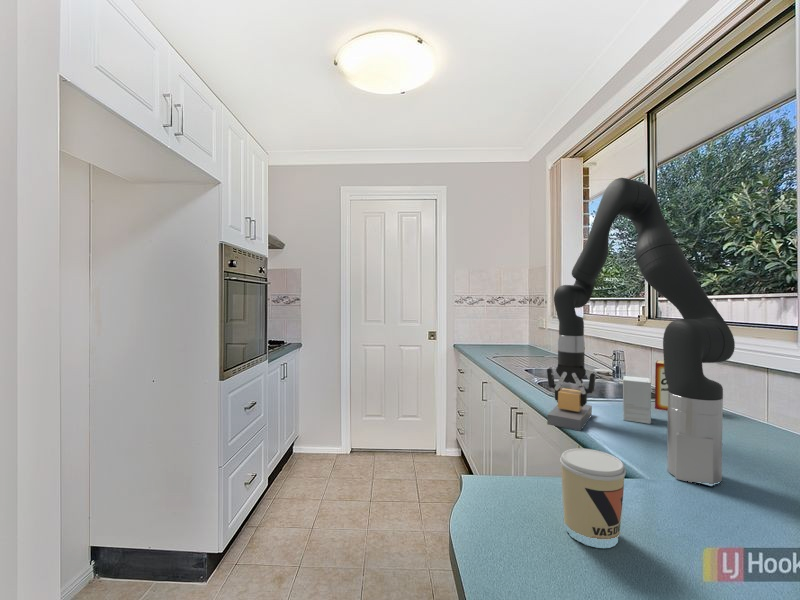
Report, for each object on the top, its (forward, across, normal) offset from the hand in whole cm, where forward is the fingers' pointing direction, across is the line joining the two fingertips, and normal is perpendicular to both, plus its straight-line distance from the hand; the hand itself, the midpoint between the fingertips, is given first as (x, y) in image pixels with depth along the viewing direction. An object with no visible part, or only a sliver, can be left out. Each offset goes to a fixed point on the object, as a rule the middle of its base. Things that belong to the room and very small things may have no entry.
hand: (570, 403), depth 118 cm
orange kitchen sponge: (+1, 0, 0) cm, 1 cm away
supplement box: (+5, +16, +13) cm, 22 cm away
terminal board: (+5, 0, 0) cm, 5 cm away
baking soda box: (+5, +26, +33) cm, 42 cm away
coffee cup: (+5, +16, -59) cm, 61 cm away
